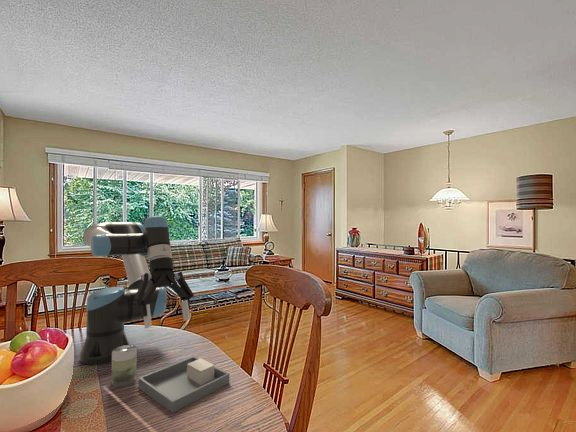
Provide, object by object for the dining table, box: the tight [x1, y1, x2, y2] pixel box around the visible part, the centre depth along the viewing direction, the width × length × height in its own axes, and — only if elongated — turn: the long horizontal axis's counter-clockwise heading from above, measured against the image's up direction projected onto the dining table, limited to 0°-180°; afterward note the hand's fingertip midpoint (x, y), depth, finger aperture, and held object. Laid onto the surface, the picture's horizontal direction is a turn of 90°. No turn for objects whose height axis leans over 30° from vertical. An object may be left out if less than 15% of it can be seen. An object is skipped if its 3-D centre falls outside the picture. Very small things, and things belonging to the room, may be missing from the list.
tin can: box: [110, 344, 138, 388], centre depth 91 cm, size 6×6×10 cm
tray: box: [137, 355, 230, 414], centre depth 88 cm, size 18×18×4 cm
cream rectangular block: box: [187, 358, 215, 385], centre depth 93 cm, size 7×5×4 cm
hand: (168, 323), depth 98 cm, fingers open, 13 cm apart
